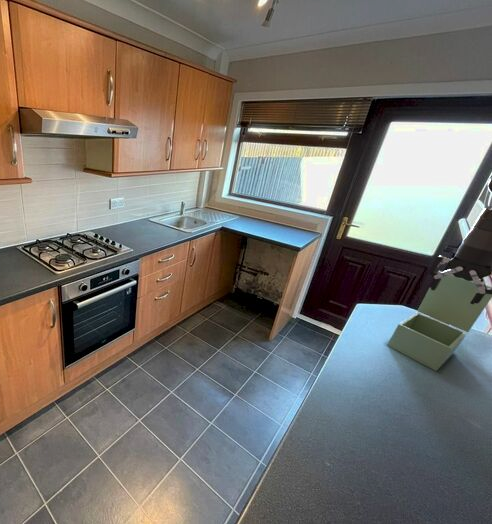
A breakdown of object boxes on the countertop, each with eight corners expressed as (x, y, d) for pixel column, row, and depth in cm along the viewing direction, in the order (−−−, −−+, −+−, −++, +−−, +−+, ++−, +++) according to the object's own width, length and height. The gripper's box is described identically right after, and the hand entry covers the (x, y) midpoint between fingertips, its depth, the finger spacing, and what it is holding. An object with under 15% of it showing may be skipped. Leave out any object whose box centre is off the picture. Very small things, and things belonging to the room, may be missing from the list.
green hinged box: (435, 371, 84) (451, 348, 80) (386, 345, 94) (398, 324, 90) (452, 354, 92) (467, 333, 88) (405, 331, 101) (417, 311, 98)
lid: (496, 289, 79) (503, 282, 82) (438, 271, 89) (445, 265, 91) (467, 332, 88) (475, 324, 90) (417, 311, 97) (424, 304, 100)
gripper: (526, 252, 72) (490, 305, 79) (451, 235, 83) (425, 282, 90) (520, 257, 68) (483, 312, 75) (443, 238, 79) (416, 288, 86)
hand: (451, 296), depth 83 cm, fingers open, 8 cm apart
